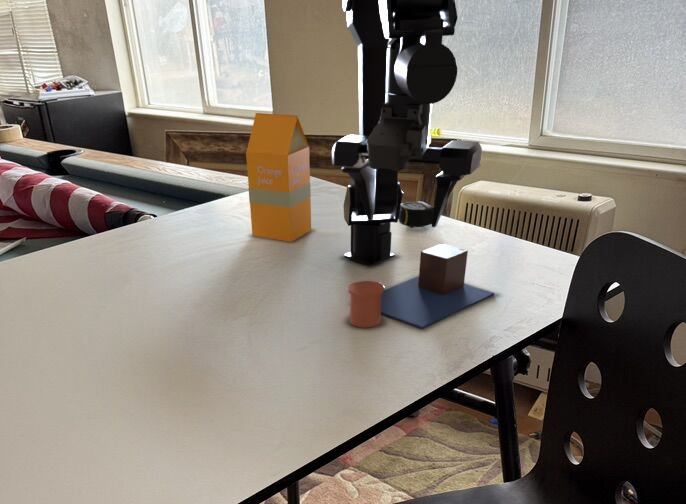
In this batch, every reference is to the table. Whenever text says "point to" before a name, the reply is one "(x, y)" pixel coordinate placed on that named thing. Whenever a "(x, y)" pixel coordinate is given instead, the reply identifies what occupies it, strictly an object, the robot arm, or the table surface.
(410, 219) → the tape measure
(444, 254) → the walnut block
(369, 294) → the terracotta pot
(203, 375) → the table surface
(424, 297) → the cloth
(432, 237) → the table surface
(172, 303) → the table surface
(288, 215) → the orange juice
